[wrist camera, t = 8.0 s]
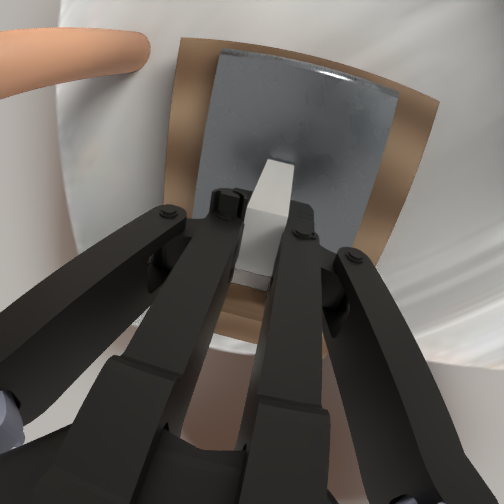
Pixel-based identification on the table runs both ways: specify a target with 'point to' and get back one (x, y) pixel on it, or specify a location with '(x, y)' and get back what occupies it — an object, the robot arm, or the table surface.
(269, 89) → the flap
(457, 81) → the table surface
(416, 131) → the mount
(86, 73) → the peg
